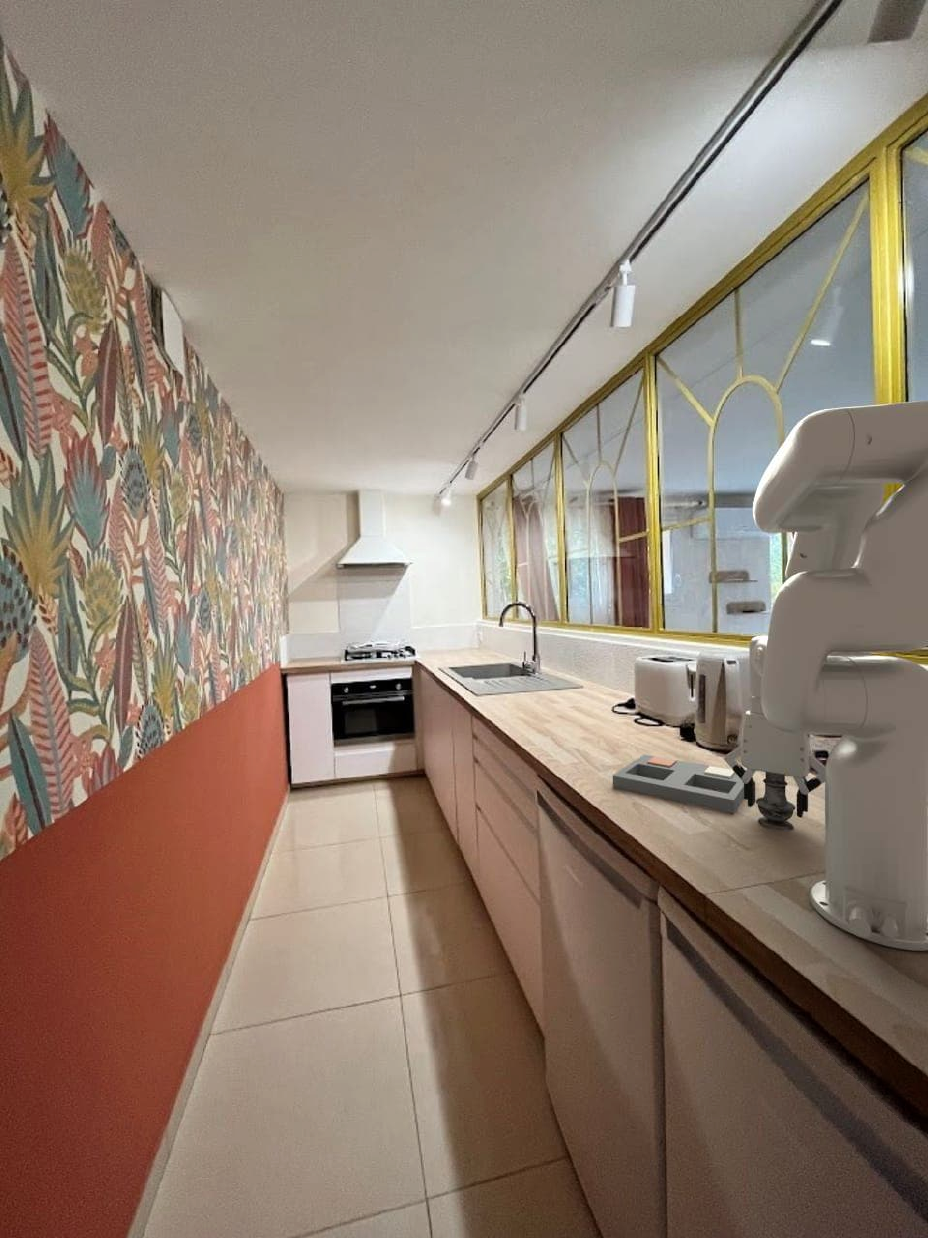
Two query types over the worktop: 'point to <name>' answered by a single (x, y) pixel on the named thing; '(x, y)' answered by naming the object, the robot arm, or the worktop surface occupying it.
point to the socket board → (682, 782)
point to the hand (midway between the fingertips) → (775, 808)
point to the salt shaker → (775, 804)
